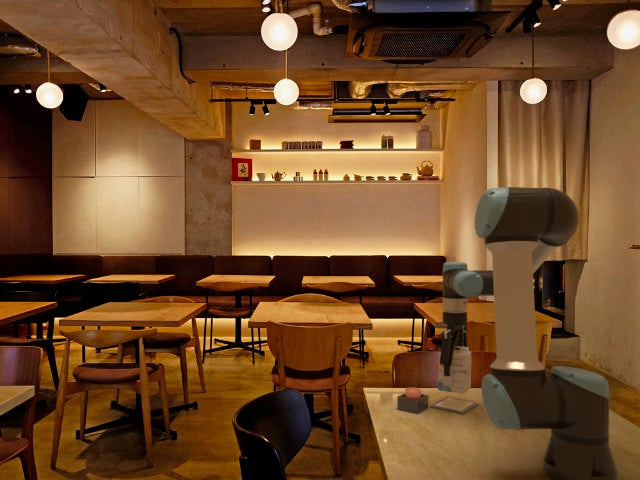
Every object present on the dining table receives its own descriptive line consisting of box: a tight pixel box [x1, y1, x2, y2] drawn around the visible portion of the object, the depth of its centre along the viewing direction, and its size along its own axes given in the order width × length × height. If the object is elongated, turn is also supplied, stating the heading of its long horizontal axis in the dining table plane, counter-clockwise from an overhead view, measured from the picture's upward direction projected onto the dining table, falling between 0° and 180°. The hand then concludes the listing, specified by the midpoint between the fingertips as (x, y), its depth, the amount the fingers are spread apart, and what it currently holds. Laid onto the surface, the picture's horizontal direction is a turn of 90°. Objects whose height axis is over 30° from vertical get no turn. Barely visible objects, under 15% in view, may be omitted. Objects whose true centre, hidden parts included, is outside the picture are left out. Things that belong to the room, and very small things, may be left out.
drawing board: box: [429, 396, 480, 416], centre depth 169 cm, size 12×11×1 cm
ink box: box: [437, 346, 472, 395], centre depth 169 cm, size 9×8×13 cm
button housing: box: [396, 392, 430, 415], centre depth 166 cm, size 7×7×4 cm
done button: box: [404, 386, 422, 400], centre depth 166 cm, size 5×5×4 cm
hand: (454, 382), depth 169 cm, fingers closed on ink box, 9 cm apart
